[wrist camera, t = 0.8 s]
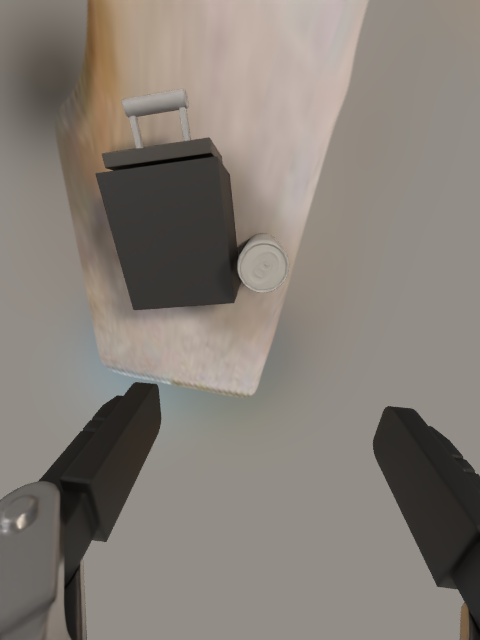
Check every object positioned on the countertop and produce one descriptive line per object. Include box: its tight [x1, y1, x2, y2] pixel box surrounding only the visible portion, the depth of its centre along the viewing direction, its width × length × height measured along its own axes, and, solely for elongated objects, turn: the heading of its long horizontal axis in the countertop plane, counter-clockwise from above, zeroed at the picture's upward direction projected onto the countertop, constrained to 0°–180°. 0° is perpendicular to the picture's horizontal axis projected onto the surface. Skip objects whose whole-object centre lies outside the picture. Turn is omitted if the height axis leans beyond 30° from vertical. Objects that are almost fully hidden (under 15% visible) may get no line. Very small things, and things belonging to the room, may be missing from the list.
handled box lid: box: [102, 89, 223, 171], centre depth 27 cm, size 17×10×7 cm, turn 6°
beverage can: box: [237, 233, 289, 293], centre depth 28 cm, size 5×5×12 cm
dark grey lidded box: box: [96, 156, 241, 310], centre depth 29 cm, size 14×12×9 cm
